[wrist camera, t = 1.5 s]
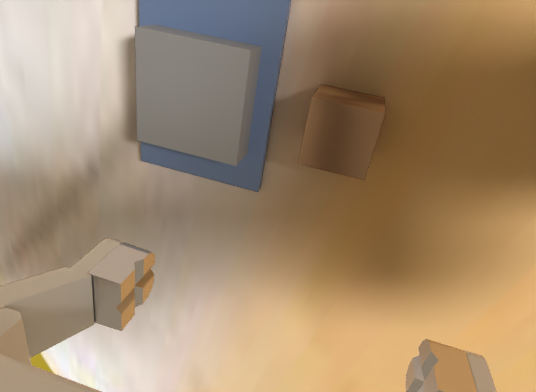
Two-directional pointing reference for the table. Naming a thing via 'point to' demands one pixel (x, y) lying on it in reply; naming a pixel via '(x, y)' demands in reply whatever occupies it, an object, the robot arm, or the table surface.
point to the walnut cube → (341, 131)
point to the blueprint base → (238, 28)
